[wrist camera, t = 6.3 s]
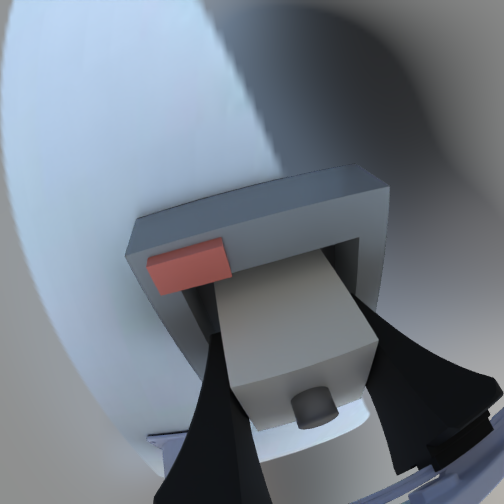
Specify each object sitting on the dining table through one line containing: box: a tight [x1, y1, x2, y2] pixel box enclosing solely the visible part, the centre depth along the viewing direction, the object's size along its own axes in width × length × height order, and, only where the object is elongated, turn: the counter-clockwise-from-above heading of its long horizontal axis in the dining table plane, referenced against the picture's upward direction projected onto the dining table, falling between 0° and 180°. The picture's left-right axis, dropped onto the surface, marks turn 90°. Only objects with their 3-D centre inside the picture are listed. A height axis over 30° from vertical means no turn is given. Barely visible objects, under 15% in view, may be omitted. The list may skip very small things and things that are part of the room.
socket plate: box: [125, 164, 390, 382], centre depth 12 cm, size 10×9×3 cm
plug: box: [214, 249, 379, 431], centre depth 10 cm, size 4×4×6 cm
